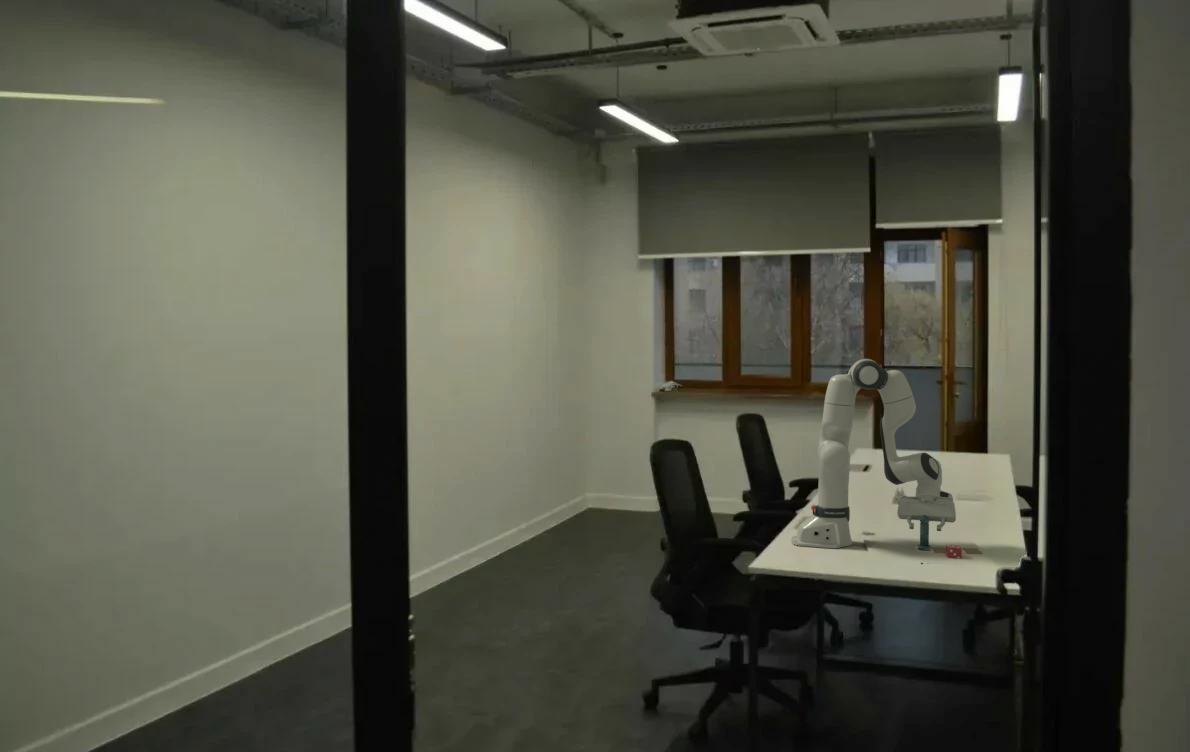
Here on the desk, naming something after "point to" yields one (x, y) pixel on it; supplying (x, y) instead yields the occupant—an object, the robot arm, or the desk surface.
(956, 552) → the die
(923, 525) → the pawn
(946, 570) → the desk surface
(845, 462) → the robot arm
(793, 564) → the desk surface
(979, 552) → the board
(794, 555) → the desk surface
